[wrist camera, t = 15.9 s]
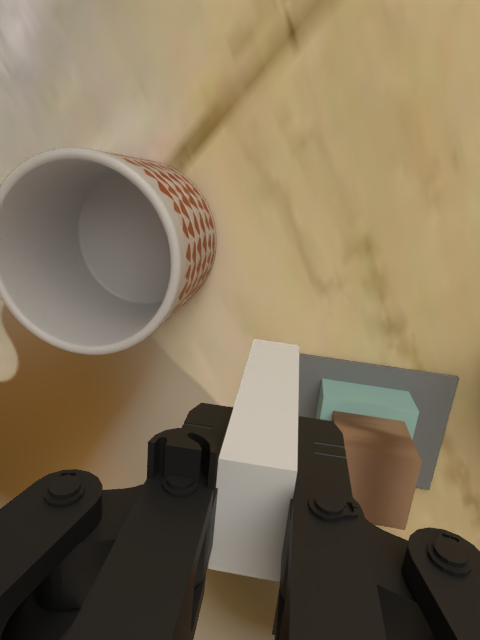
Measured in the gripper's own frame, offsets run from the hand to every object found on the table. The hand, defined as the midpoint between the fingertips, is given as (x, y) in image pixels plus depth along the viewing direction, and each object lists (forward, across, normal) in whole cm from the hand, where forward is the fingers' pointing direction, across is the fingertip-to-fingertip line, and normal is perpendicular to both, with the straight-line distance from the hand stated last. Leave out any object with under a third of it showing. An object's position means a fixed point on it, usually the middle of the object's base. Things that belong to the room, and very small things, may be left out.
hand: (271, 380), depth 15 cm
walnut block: (+22, +8, -15) cm, 28 cm away
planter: (+27, -14, 0) cm, 30 cm away
